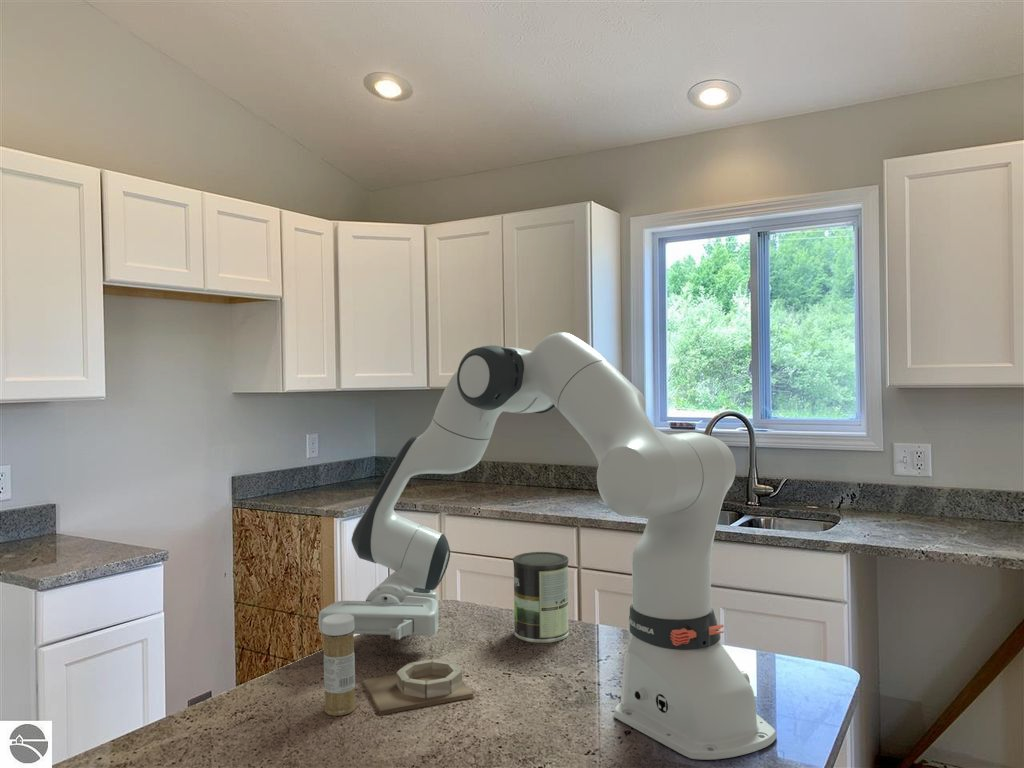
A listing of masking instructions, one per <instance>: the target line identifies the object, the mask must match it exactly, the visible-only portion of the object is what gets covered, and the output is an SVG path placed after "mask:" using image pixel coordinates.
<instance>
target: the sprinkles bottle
mask: <svg viewBox="0 0 1024 768" xmlns="http://www.w3.org/2000/svg"><path fill="white" fill-rule="evenodd" d="M354 629H355V622H354V617H353V616H352V615H350V614H333V615H329V616H327V617H325V618H324V619H323V620H322V632H323V633H322V632H321V633H322V636H323V684H324V685H323V687H324V688H323V689H324V709H323V712H325V713H326V714H327V715H329V716H336V717H337V716H339V717H340V716H345V715H348V714H350V713H352V712H353V711H354V710H356V707H357V703H356V693H355V692H356V667H355V665H356V664H355V663H356V661H355V655H356V654H355V641H354V640H355V639H354V638H355V637H354V635H355V634H354Z"/></svg>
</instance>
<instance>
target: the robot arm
mask: <svg viewBox="0 0 1024 768" xmlns="http://www.w3.org/2000/svg"><path fill="white" fill-rule="evenodd" d="M556 409H557V411H559V412H560V413H561V414H562V416H563V417H564V418H565V419H566V420H567V421H568V422H569V424H570V425H572V427H573V428H574V429H575V430H576V431H577V432H578V433H579V434H580V436H581V437H582V438H583V439H584V440H585V441H586V443H587V445H588V446H589V447H590V448H591V451H592V452H593V454H594V456H595V458H596V460H597V464H598V466H597V470H596V485H597V489H598V492H599V493H598V494H599V496H600V498H601V499H602V501H603V502H604V504H605V505H606V506H607V508H609V509H610V510H611V511H612V512H614V513H615V514H617V515H620V516H624V517H630V518H638V519H639V518H640V519H641V518H642V519H647V522H646V525H645V528H644V530H643V533H642V535H641V537H640V539H639V540H638V542H637V543H636V544H635V546H634V547H633V551H632V556H631V587H632V589H631V592H632V593H631V596H632V603H631V604H630V606H629V613H628V623H629V632H630V634H631V638H630V642H629V645H628V648H627V650H626V652H625V654H624V657H623V664H622V665H623V666H622V677H621V678H622V679H621V692H620V693H621V694H620V702H619V703H618V704H617V705H615V707H614V712H613V713H614V714H613V716H614V718H615V719H617V720H619V721H620V722H622V723H623V724H626V725H627V726H629V727H631V728H633V729H635V730H637V731H638V732H641V733H642V734H644V735H646V736H648V737H649V738H651V739H652V740H655V741H656V742H659V743H660V744H662V745H664V746H666V747H668V748H669V749H672V750H673V751H675V752H677V753H679V754H681V755H682V756H684V757H687V758H689V759H692V760H702V761H703V760H707V761H708V760H711V761H712V760H721V759H729V758H735V757H738V756H739V757H740V756H743V755H747V754H750V753H754V752H757V751H759V750H762V749H764V748H766V747H769V746H770V745H771V744H773V743H774V741H776V739H777V731H776V729H775V728H774V727H773V726H772V725H770V724H769V723H768V721H766V720H765V719H763V718H762V717H761V716H760V715H758V713H757V707H756V699H755V697H756V696H755V693H754V690H753V688H752V685H751V681H750V677H749V675H748V672H746V671H741V669H739V667H738V665H736V663H735V661H734V660H733V659H732V657H731V656H730V654H729V653H728V651H727V650H726V649H725V647H724V646H723V644H722V642H721V641H720V640H721V634H723V633H724V632H725V631H723V630H720V629H723V628H724V627H725V625H724V624H718V621H717V620H718V619H717V618H716V615H715V611H714V608H712V552H713V545H714V541H715V536H716V532H717V531H716V530H717V526H718V524H719V518H720V513H721V511H722V510H721V509H722V506H723V503H724V500H725V498H726V496H727V493H728V491H729V490H730V488H731V487H732V485H733V483H734V482H735V481H734V480H735V479H736V475H737V474H736V473H737V465H736V464H737V463H736V460H735V456H734V454H733V452H732V451H731V448H729V446H728V445H727V444H726V443H724V441H722V440H720V439H719V438H718V437H717V438H716V437H714V436H711V435H709V434H704V433H699V432H695V431H694V432H690V431H688V432H682V433H672V434H668V433H665V432H663V431H661V430H659V429H658V428H657V427H656V426H655V425H654V424H653V423H652V421H651V420H650V418H649V417H648V415H647V413H646V400H645V396H644V395H643V393H642V392H641V391H640V390H639V389H638V388H637V387H636V386H635V385H634V384H633V383H632V382H631V381H630V380H629V379H628V378H627V377H626V376H624V374H623V373H622V372H620V371H619V370H618V369H617V368H616V367H615V366H614V365H613V363H611V362H610V361H609V360H608V359H607V358H605V356H604V355H602V354H601V353H600V352H599V351H598V350H596V349H595V348H594V347H592V346H591V345H589V344H588V343H587V342H584V340H582V339H580V338H579V337H577V336H575V335H573V334H571V333H569V332H564V331H562V332H561V331H559V332H555V333H551V334H549V335H547V336H546V337H544V338H543V339H541V340H540V341H539V343H538V344H537V345H536V346H535V348H534V349H533V350H530V349H529V350H528V349H525V348H520V347H512V346H510V347H509V346H499V345H485V346H484V345H483V346H479V347H476V348H473V349H471V350H469V351H468V352H467V353H465V355H464V356H463V357H462V359H461V361H460V362H459V366H458V367H457V370H456V371H455V372H454V373H453V374H452V376H451V378H450V379H449V380H448V383H447V385H446V386H445V388H444V391H443V392H442V394H441V396H440V398H439V401H438V403H437V406H436V408H435V412H434V414H433V417H432V420H431V422H430V424H429V425H428V427H427V428H426V430H425V431H424V432H423V433H422V434H420V435H416V436H412V437H410V438H409V439H408V440H407V441H406V442H405V443H404V445H402V447H401V448H400V451H399V452H398V453H397V455H396V456H395V458H394V460H393V462H392V463H391V465H390V467H389V469H388V471H387V473H386V474H385V476H384V477H383V480H382V481H381V484H379V486H378V488H377V491H376V493H375V494H374V496H373V498H372V500H371V502H370V504H369V505H368V507H367V508H366V510H365V512H364V514H362V516H361V517H360V519H359V520H358V521H357V523H356V525H355V527H354V529H353V532H352V536H351V539H350V540H351V544H352V547H353V549H354V551H355V553H356V555H357V557H358V558H359V559H361V560H365V561H367V562H370V563H373V564H379V565H381V566H383V567H385V568H387V569H391V570H392V571H394V572H392V573H391V574H389V575H388V576H387V577H386V578H385V579H384V580H383V581H382V582H381V583H380V584H378V585H377V586H375V588H374V589H373V590H371V592H370V593H369V594H368V595H367V596H366V599H365V600H338V601H335V602H333V603H330V604H329V605H327V606H325V607H324V608H322V609H321V610H320V611H319V613H318V630H319V631H320V632H321V633H322V634H323V632H322V620H323V619H324V618H325V617H327V616H329V615H333V614H350V615H352V616H353V617H354V622H355V629H354V634H353V635H356V634H357V635H383V636H389V638H390V640H394V641H395V640H398V641H399V640H401V639H402V638H403V637H406V636H423V637H424V636H425V637H429V636H433V635H434V636H435V635H436V634H437V632H438V630H439V613H440V612H439V598H438V592H437V591H436V589H437V588H438V586H439V585H440V583H441V582H442V579H443V577H444V575H445V573H446V570H447V568H448V566H449V562H450V557H451V548H450V545H449V541H448V538H447V537H446V535H445V534H444V533H442V532H439V531H438V530H435V529H433V528H431V527H429V526H426V525H423V524H420V523H418V522H415V521H413V520H410V519H408V518H405V517H403V516H401V515H399V514H397V513H396V511H395V509H394V508H395V506H396V504H397V503H398V501H399V499H400V497H401V495H402V493H403V491H404V490H405V488H406V486H407V484H408V482H409V481H410V479H411V478H412V477H414V476H418V475H425V474H426V475H427V474H435V475H436V474H437V475H438V474H439V475H440V474H441V475H453V474H458V473H462V472H466V471H469V470H470V469H472V468H474V467H476V465H478V464H479V463H480V462H481V460H482V458H483V456H484V454H485V452H486V450H487V448H488V446H489V443H490V440H491V438H492V434H493V433H494V432H493V431H494V429H495V425H496V423H497V420H498V419H499V416H500V415H501V414H502V413H511V414H531V413H534V414H545V413H549V412H551V411H554V410H556Z"/></svg>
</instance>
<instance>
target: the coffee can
mask: <svg viewBox="0 0 1024 768" xmlns="http://www.w3.org/2000/svg"><path fill="white" fill-rule="evenodd" d="M512 563H513V602H514V606H513V607H514V609H513V610H514V614H513V615H514V616H513V617H514V618H513V619H514V631H513V634H514V636H515V637H516V638H517V639H519V640H521V641H524V642H527V643H534V644H548V643H556V642H559V641H562V640H564V639H567V638H568V636H569V634H570V631H569V565H568V564H569V557H568V556H567V555H564V554H562V553H559V552H551V551H531V552H530V551H529V552H524V553H521V554H517V555H515V556H514V557H513V558H512Z"/></svg>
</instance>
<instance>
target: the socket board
mask: <svg viewBox="0 0 1024 768" xmlns="http://www.w3.org/2000/svg"><path fill="white" fill-rule="evenodd" d="M362 681H363V682H362V683H364V684H363V685H365V686H366V688H367V689H366V688H365V689H366V691H367V690H368V691H367V693H368V692H369V693H368V695H369V694H370V695H369V696H371V697H370V698H372V699H373V700H372V699H371V700H372V702H373V701H374V702H373V704H374V703H375V704H374V706H375V705H376V706H375V708H376V707H377V708H376V710H377V709H378V710H377V711H378V713H379V715H380V716H382V715H386V714H387V715H388V714H393V713H397V712H399V713H400V712H402V711H403V712H404V711H409V710H414V709H419V708H425V707H429V706H437V705H440V704H445V703H450V702H456V701H461V700H467V699H472V698H474V693H473V691H472V690H471V689H470V688H469V687H468V686H467V684H466V683H465V682H464V681H463V670H462V668H461V667H459V665H458V664H456V662H454V661H449V660H442V659H436V658H434V659H432V658H429V659H424V660H418V661H412V662H409V663H407V664H406V665H404V666H403V667H401V668H399V669H398V670H397V671H396V674H391V675H384V676H378V677H371V678H367V679H363V680H362ZM365 686H364V687H365Z"/></svg>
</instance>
